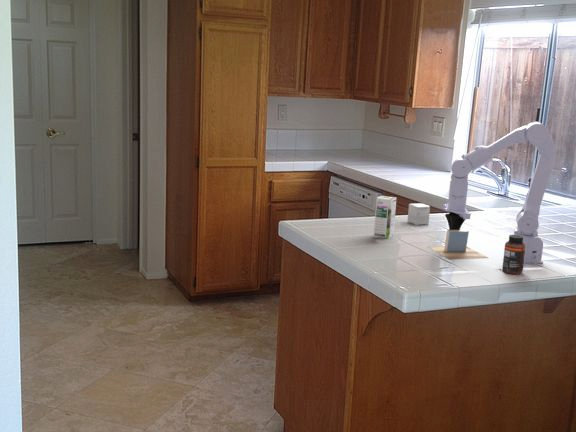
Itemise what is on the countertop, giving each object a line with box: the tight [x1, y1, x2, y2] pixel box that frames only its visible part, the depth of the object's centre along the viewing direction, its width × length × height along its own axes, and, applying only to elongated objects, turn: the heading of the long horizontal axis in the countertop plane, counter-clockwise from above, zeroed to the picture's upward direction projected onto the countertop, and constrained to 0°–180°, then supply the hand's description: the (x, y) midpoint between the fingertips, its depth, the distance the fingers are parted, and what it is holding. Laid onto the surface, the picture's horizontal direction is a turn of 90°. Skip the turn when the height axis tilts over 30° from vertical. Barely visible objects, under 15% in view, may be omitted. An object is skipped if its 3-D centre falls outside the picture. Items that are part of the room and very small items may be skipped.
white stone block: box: [406, 203, 431, 226], centre depth 260 cm, size 6×6×7 cm
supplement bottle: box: [501, 234, 525, 275], centre depth 200 cm, size 6×6×11 cm
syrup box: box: [373, 195, 397, 239], centre depth 235 cm, size 6×6×14 cm
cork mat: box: [428, 245, 489, 260], centre depth 219 cm, size 15×14×1 cm
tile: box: [444, 229, 470, 252], centre depth 219 cm, size 2×7×7 cm, turn 106°
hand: (453, 235), depth 221 cm, fingers closed
